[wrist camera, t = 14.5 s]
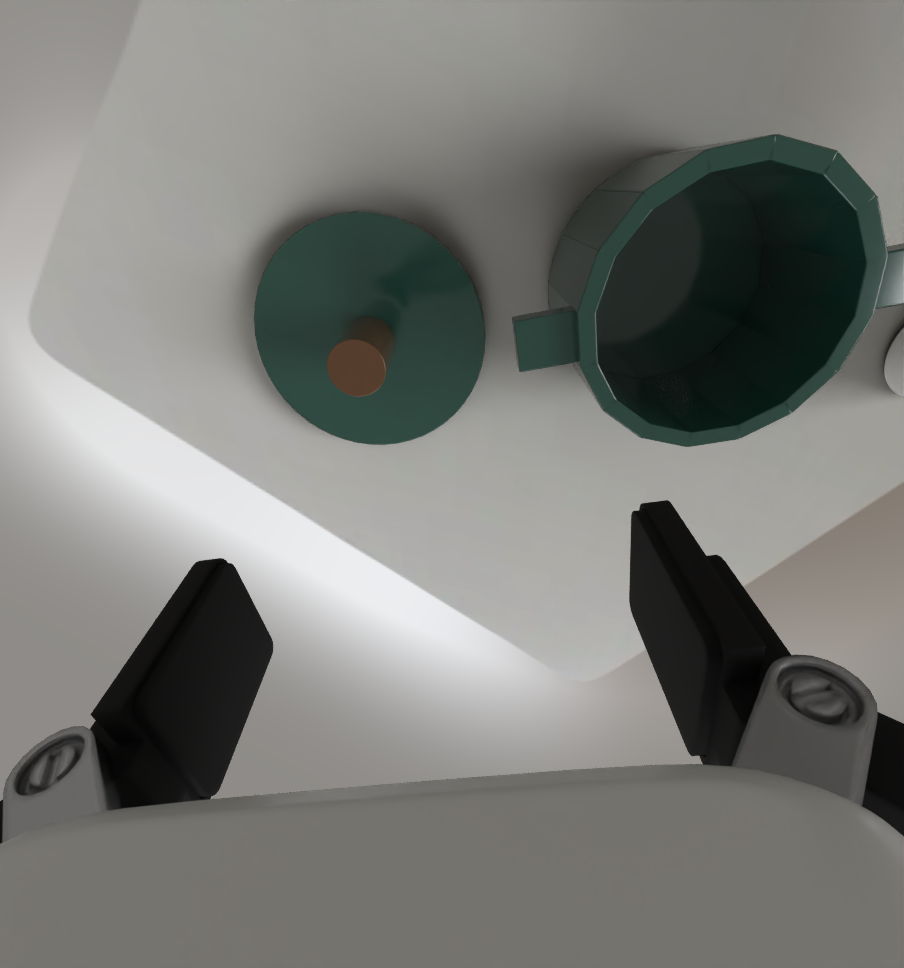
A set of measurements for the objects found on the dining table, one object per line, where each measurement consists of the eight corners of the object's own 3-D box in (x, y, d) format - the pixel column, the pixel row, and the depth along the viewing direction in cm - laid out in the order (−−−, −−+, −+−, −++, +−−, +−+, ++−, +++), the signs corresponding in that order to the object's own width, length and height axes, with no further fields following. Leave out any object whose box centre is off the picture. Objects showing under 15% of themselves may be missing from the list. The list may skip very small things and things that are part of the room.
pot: (487, 190, 26) (499, 193, 19) (845, 114, 25) (1009, 84, 17) (515, 408, 33) (532, 471, 26) (801, 359, 31) (907, 413, 24)
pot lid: (223, 238, 28) (168, 251, 22) (463, 186, 26) (465, 186, 21) (304, 451, 35) (277, 500, 29) (498, 419, 33) (506, 463, 28)
